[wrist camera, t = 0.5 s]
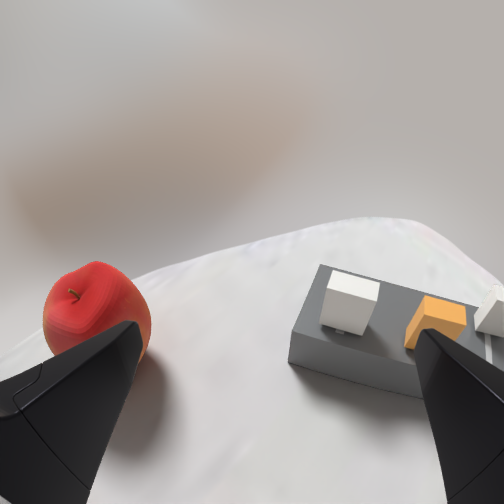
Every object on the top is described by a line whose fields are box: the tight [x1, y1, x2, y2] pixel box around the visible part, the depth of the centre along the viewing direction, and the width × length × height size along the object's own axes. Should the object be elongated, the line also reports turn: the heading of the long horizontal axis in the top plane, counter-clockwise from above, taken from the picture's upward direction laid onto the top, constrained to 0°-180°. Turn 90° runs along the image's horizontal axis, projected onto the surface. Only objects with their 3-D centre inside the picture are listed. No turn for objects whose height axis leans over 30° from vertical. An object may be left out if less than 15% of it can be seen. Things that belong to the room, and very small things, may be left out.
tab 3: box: [474, 284, 504, 337], centre depth 18 cm, size 2×4×4 cm, turn 65°
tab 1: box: [319, 270, 380, 336], centre depth 21 cm, size 2×4×4 cm, turn 66°
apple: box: [43, 261, 151, 363], centre depth 22 cm, size 10×10×10 cm
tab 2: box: [404, 295, 467, 349], centre depth 18 cm, size 2×4×4 cm, turn 65°
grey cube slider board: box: [288, 264, 504, 399], centre depth 23 cm, size 8×21×5 cm, turn 65°
